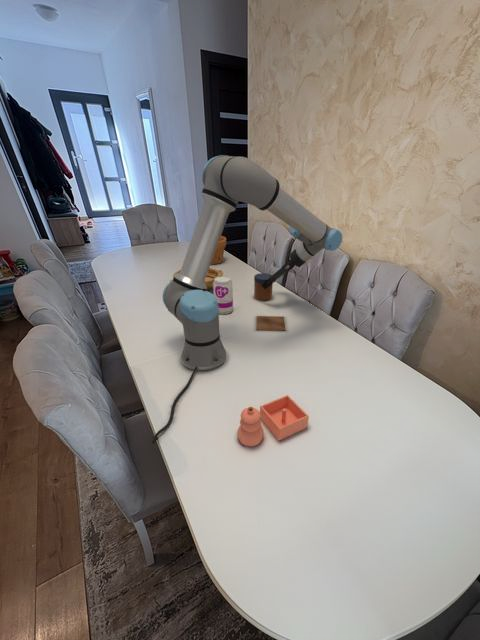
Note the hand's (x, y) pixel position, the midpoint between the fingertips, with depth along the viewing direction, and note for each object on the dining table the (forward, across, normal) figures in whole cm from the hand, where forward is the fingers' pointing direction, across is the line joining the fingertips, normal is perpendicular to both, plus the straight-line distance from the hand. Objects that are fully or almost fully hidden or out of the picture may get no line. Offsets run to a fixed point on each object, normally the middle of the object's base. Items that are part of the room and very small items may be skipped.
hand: (268, 282), depth 149 cm
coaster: (-2, -25, -14) cm, 28 cm away
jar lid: (0, 0, +3) cm, 3 cm away
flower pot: (+46, +41, +34) cm, 70 cm away
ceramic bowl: (+33, -4, +21) cm, 39 cm away
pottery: (-16, -80, -28) cm, 87 cm away
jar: (+8, 0, -4) cm, 9 cm away
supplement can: (+15, -22, +3) cm, 27 cm away
